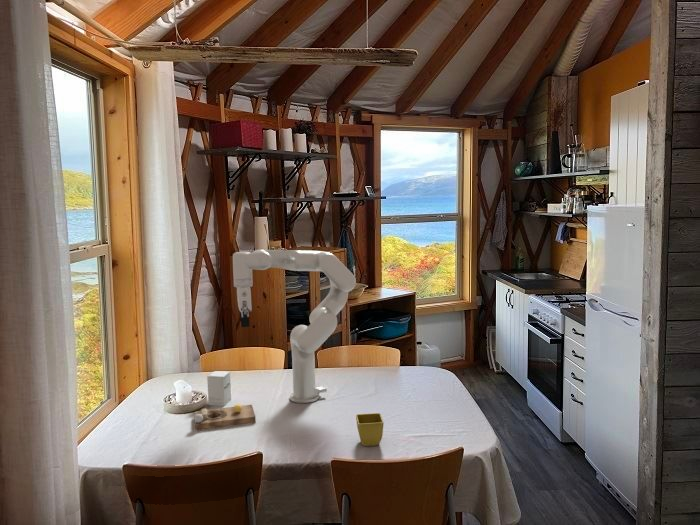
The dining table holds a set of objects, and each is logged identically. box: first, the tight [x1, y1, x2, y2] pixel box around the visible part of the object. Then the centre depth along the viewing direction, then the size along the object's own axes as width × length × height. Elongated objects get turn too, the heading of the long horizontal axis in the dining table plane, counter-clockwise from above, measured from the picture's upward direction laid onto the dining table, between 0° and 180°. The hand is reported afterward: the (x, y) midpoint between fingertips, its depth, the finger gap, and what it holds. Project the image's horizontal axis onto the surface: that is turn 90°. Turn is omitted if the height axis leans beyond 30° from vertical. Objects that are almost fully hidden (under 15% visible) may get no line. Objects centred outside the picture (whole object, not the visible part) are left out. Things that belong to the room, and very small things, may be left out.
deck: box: [194, 404, 257, 431], centre depth 210 cm, size 22×13×4 cm, turn 106°
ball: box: [233, 403, 243, 413], centre depth 211 cm, size 3×3×3 cm
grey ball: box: [193, 414, 203, 423], centre depth 202 cm, size 3×3×3 cm
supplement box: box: [206, 370, 232, 407], centre depth 228 cm, size 7×7×13 cm
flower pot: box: [355, 412, 385, 447], centre depth 187 cm, size 9×9×9 cm
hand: (244, 324), depth 220 cm, fingers open, 9 cm apart
